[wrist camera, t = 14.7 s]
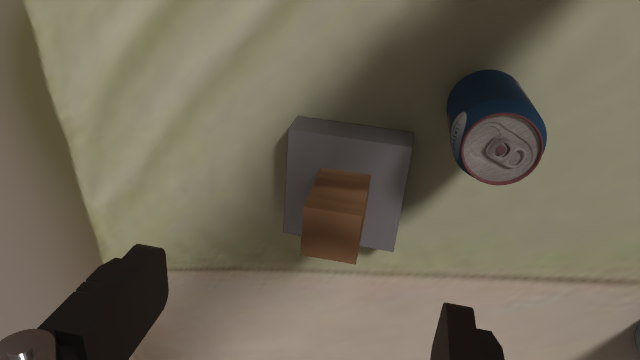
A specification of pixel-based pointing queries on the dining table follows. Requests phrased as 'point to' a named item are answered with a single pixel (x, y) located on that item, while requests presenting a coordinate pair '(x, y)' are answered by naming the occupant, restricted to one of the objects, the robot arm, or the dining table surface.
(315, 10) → the dining table surface
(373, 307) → the dining table surface
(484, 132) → the soda can
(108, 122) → the dining table surface
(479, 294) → the dining table surface
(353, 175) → the walnut block
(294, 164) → the slate base
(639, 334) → the blue gray cup
